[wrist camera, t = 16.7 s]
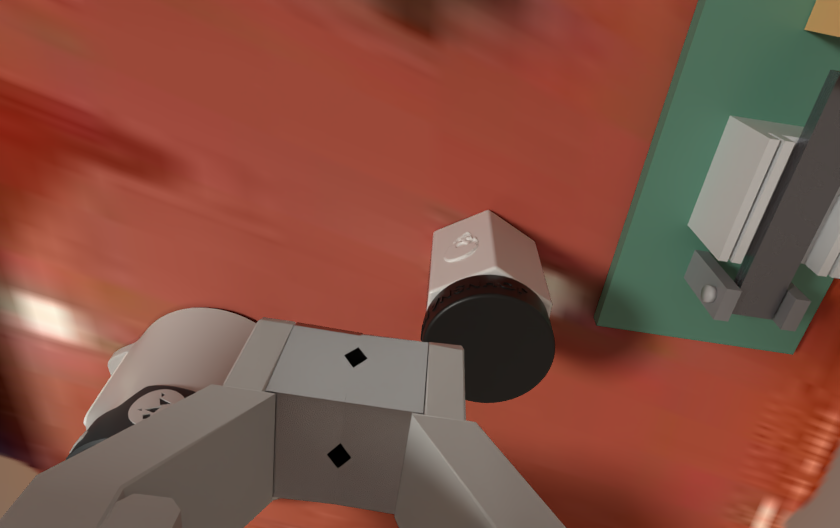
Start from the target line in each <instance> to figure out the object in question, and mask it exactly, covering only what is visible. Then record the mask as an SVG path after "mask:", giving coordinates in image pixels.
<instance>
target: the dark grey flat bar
mask: <svg viewBox="0 0 840 528" xmlns="http://www.w3.org/2000/svg"><path fill="white" fill-rule="evenodd" d="M839 187H840V71H836V70H830V71H829V74H828V76H827V78H826V80H825V82H824V85H823V87H822V89H821V91H820V93H819V96H818V98H817V100H816V102H815V104H814V107H813V109H812V111H811V113H810V115H809V117H808V120H807V122H806V124H805V126H804V128H803V131H802V133H801V135H800V137H799V139H798V142H797V144H796V146H795V148H794V150H793V153H792V155H791V157H790V159H789V161H788V164H787V166H786V168H785V170H784V172H783V175H782V177H781V179H780V181H779V183H778V185H777V188H776V190H775V192H774V194H773V196H772V199H771V201H770V203H769V205H768V207H767V210H766V212H765V214H764V216H763V218H762V221H761V223H760V225H759V227H758V229H757V232H756V234H755V236H754V238H753V240H752V242H751V245H750V247H749V249H748V251H747V253H746V256H745V258H744V260H743V262H742V264H741V267H740V269H739V271H738V273H737V275H736V278H735V280H734V282H735V283H736V285H737V286H738V287H739V288H740V289H741V290H742V292H741V295H740V297H739V299H738V301H737V303H736V305H735V308H734V310H733V312H732V314H736V315H743V316H749V317H756V318H763V319H770V320H772V318H773V316H774V314H775V312H776V310H777V308H778V306H779V305H780V303H781V301H782V299H783V297H784V295H785V293H786V291H787V289H788V287H789V285H790V283H791V281H792V279H793V277H794V275H795V273H796V271H797V269H798V267H799V265H800V263H801V261H802V259H803V257H804V256H805V254H806V252H807V250H808V248H809V246H810V244H811V242H812V240H813V238H814V236H815V234H816V232H817V230H818V228H819V226H820V224H821V222H822V220H823V218H824V216H825V214H826V212H827V210H828V208H829V207H830V205H831V203H832V201H833V199H834V197H835V195H836V193H837V191H838V189H839Z"/></svg>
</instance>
